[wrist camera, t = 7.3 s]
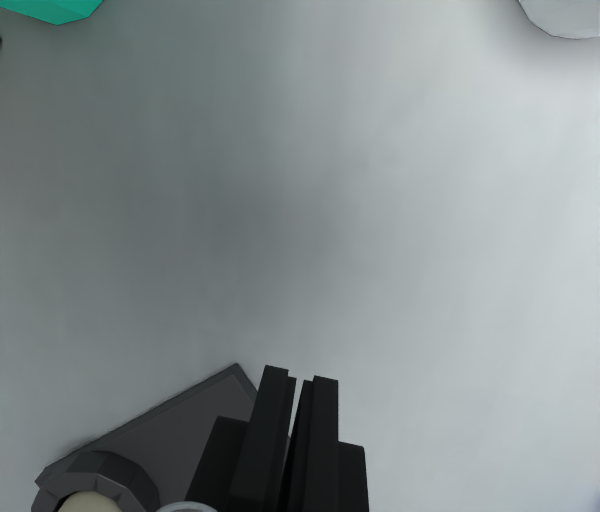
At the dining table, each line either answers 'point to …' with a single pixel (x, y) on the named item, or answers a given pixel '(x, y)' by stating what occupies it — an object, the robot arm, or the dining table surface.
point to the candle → (53, 9)
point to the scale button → (89, 503)
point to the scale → (150, 450)
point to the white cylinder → (565, 17)
